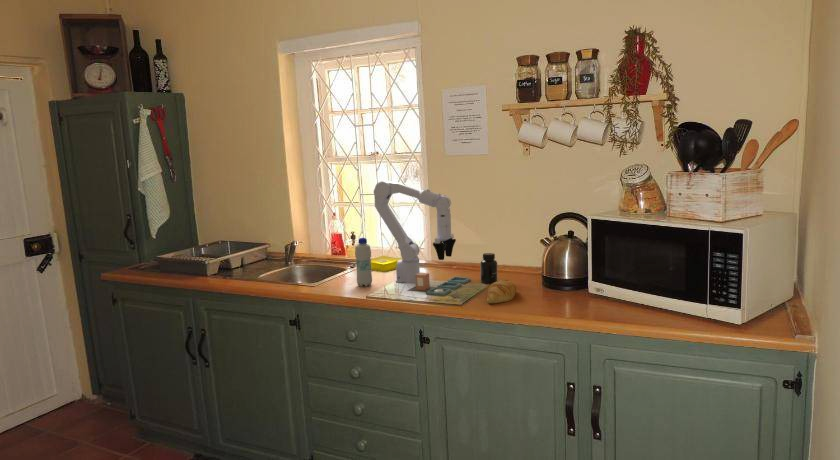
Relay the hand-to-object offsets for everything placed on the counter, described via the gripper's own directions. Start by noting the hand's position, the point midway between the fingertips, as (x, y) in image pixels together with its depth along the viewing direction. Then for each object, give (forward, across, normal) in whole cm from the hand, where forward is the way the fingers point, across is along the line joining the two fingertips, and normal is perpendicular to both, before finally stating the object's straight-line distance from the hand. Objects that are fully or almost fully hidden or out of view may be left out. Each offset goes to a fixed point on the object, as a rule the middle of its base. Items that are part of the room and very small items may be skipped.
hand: (445, 258), depth 238 cm
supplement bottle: (+10, +3, -18) cm, 21 cm away
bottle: (+10, -17, +29) cm, 35 cm away
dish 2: (+10, -10, -6) cm, 15 cm away
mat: (+10, -16, +3) cm, 19 cm away
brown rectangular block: (+10, -16, +3) cm, 19 cm away
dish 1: (+10, -20, -6) cm, 23 cm away
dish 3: (+10, 0, -6) cm, 12 cm away
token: (+10, -20, -6) cm, 23 cm away
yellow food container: (+11, +18, +40) cm, 45 cm away
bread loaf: (+10, -18, -30) cm, 37 cm away
